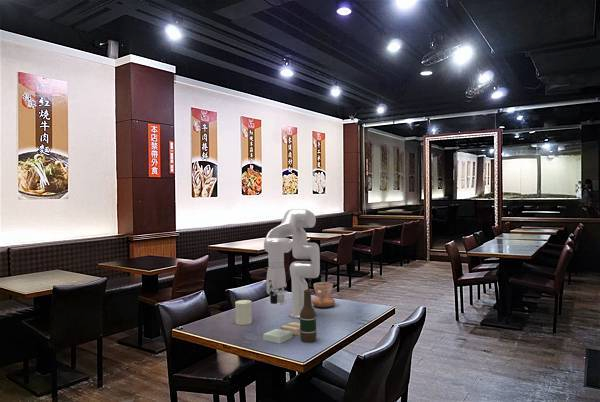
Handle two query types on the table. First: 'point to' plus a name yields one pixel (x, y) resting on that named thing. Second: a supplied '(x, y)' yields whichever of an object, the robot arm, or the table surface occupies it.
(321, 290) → the ceramic jug
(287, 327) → the stand
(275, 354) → the table surface
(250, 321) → the can
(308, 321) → the beer bottle
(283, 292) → the housing
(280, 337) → the stand
